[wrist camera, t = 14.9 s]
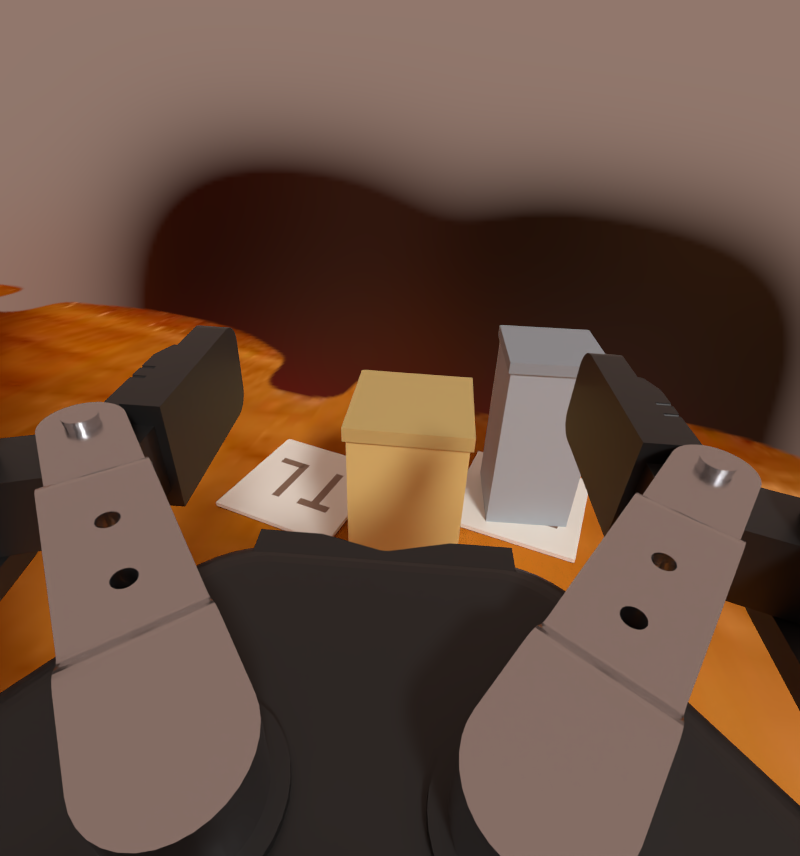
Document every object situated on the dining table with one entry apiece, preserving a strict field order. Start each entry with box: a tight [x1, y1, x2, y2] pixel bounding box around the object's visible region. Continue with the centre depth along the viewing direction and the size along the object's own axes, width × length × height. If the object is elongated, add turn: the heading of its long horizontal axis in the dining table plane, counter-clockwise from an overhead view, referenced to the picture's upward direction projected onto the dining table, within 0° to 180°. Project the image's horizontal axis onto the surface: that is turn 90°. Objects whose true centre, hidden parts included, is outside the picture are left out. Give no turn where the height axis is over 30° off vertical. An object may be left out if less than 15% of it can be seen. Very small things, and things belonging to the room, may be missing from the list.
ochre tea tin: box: [341, 370, 476, 551], centre depth 27 cm, size 6×6×12 cm
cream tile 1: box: [216, 439, 348, 537], centre depth 38 cm, size 9×9×1 cm
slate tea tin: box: [480, 325, 605, 527], centre depth 34 cm, size 6×6×12 cm
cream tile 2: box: [460, 451, 588, 563], centre depth 37 cm, size 9×9×1 cm
